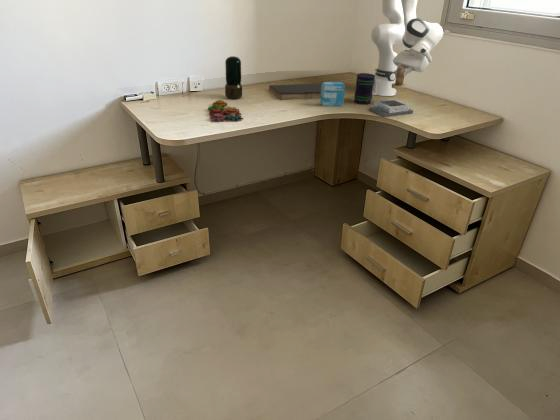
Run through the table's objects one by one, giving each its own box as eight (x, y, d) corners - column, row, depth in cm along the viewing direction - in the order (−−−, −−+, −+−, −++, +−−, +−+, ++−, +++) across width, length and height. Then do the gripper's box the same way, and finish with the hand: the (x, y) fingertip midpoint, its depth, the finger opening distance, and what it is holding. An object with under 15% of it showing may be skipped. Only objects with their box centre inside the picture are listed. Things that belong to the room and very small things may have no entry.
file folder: (281, 93, 237) (269, 84, 257) (280, 101, 239) (269, 90, 259) (336, 91, 245) (320, 82, 266) (335, 98, 247) (319, 88, 268)
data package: (321, 106, 231) (323, 83, 225) (319, 104, 235) (321, 81, 229) (343, 106, 233) (345, 83, 227) (340, 103, 237) (343, 81, 231)
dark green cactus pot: (223, 95, 242) (222, 55, 232) (240, 94, 245) (239, 54, 234) (227, 100, 235) (226, 58, 224) (244, 99, 237) (243, 58, 226)
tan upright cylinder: (388, 86, 222) (391, 66, 218) (399, 85, 225) (402, 65, 220) (397, 89, 217) (400, 69, 212) (408, 88, 220) (411, 68, 215)
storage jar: (374, 102, 241) (378, 75, 234) (364, 105, 235) (368, 78, 227) (360, 98, 247) (363, 72, 239) (350, 101, 241) (353, 74, 233)
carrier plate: (368, 109, 228) (370, 101, 226) (397, 106, 236) (398, 98, 233) (384, 117, 218) (385, 108, 216) (412, 113, 226) (414, 104, 223)
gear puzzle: (206, 104, 228) (205, 97, 226) (236, 104, 231) (236, 96, 229) (210, 123, 202) (210, 115, 200) (244, 122, 205) (244, 114, 203)
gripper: (401, 45, 223) (383, 65, 223) (429, 51, 207) (410, 73, 208) (406, 53, 227) (389, 73, 228) (434, 60, 211) (415, 82, 212)
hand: (399, 73), depth 218 cm, fingers closed on tan upright cylinder, 4 cm apart
